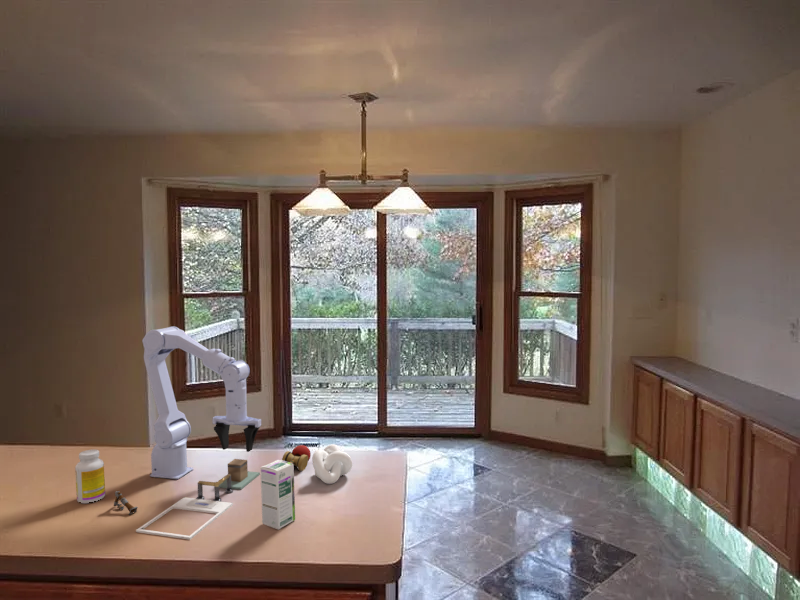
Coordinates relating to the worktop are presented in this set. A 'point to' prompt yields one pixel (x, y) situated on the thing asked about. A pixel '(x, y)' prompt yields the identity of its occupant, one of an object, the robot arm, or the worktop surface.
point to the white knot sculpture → (331, 463)
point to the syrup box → (277, 494)
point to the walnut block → (238, 470)
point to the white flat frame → (191, 505)
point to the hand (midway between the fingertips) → (237, 449)
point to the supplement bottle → (90, 477)
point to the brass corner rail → (215, 487)
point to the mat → (243, 483)
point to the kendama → (298, 457)
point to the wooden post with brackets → (124, 502)
